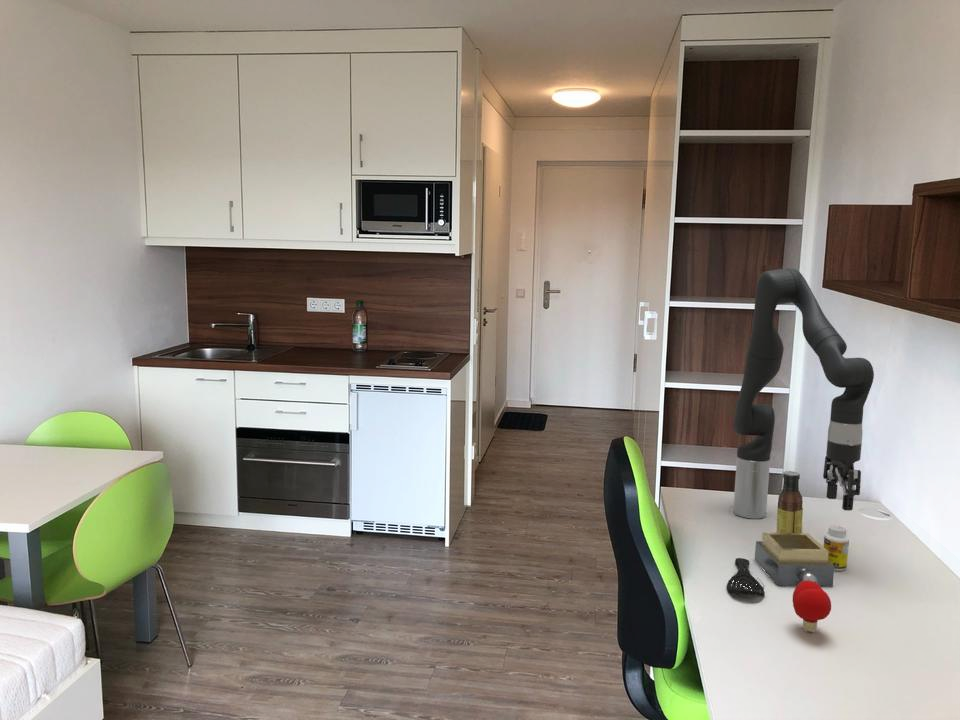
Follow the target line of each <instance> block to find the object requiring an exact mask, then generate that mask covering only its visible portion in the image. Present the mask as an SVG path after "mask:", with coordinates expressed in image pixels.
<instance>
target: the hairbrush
mask: <svg viewBox="0 0 960 720" xmlns="http://www.w3.org/2000/svg"><path fill="white" fill-rule="evenodd" d="M735 564H736V565H737V566H738V570H737V571H736V572H734V574H733V575H732V576H731V578H730V579H729V580H728V581H727V584H726V590H728V591H727V592H729V593H733V594H741V595H749V596H757V597H765V595H766V593H765V592H766V591H765V590H764V589H765V585H764V583H763V582H762V580H761V579H760V578H759V577H757V575H756V576H755V577H754V576H753V575H755V574H753V575H752V572H751V571H750V570H749V569H748V568H749V566H750V560H749V559H747V558H742V557H738V558H737V557H736V558H735ZM756 577H757V579H756ZM758 579H759V580H758ZM733 580H734V582H733V583H732V581H733ZM738 581H739V582H738ZM736 582H737V583H736ZM740 584H742V585H741V586H740ZM746 584H747V585H746ZM756 584H757V585H756ZM743 586H745V587H743ZM749 586H750V587H751V588H750V587H749ZM746 587H747V588H748V589H747V588H746ZM751 589H752V591H751ZM760 590H761V591H760Z"/></svg>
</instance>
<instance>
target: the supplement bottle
mask: <svg viewBox="0 0 960 720" xmlns="http://www.w3.org/2000/svg"><path fill="white" fill-rule="evenodd" d="M827 530H828V532H826V533H825V534H824V537H823V545H822V546H823V547H824V548H826V549H827V550H828V551H829V554H828V561H829V562H830V563H831V564H832V565H833V566H834V567H835V568H834V572H835V571H837V572H841V571H845V570H846V569H847V566H848V557H849V546H850V545H849V544H850V538H849V536H848V535H847V528H846V527H844V526H841V525H836V524H831V525H829V526H828V529H827Z"/></svg>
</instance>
